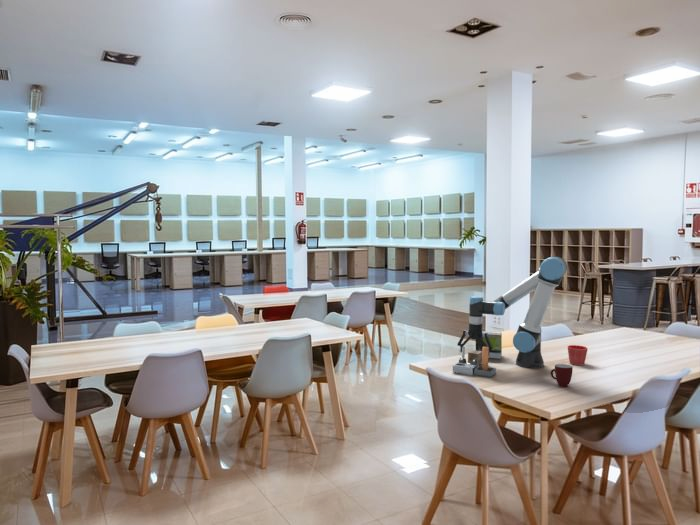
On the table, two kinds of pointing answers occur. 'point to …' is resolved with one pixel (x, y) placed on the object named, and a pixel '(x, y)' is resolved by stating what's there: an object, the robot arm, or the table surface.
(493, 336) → the retro computer monitor
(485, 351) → the stop pin
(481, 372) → the pin tray
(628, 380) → the table surface
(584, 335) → the table surface
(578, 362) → the flower pot
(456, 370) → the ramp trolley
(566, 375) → the mug
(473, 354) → the chock block
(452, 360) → the table surface
